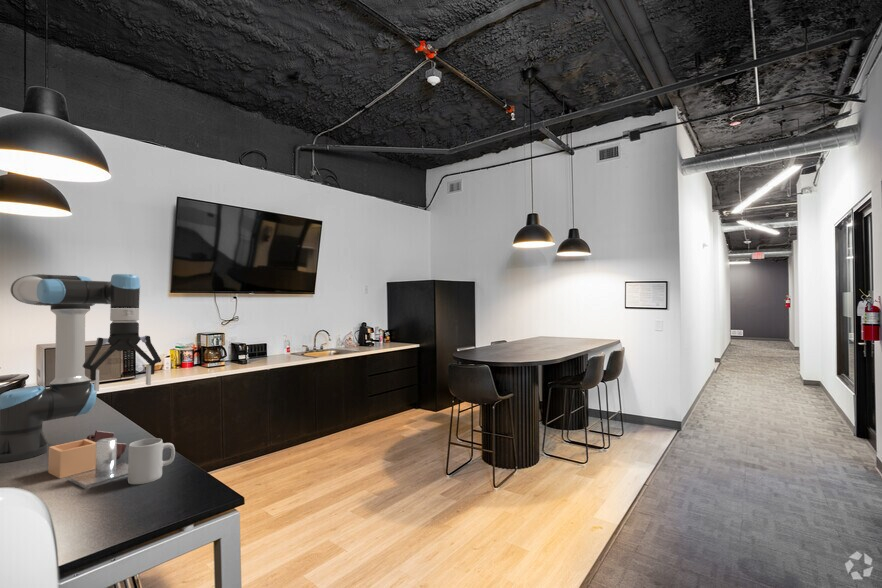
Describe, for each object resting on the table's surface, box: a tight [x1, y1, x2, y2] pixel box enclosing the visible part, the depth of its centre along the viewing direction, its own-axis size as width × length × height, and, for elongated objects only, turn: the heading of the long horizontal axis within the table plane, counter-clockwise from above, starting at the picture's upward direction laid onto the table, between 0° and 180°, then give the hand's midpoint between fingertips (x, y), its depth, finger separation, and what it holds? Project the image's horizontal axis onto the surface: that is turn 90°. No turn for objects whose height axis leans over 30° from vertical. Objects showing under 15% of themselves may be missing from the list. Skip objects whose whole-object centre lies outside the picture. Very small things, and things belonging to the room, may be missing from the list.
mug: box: [127, 437, 176, 485], centre depth 129 cm, size 12×8×11 cm
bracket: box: [86, 430, 127, 460], centre depth 144 cm, size 6×17×10 cm, turn 78°
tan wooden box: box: [47, 438, 96, 479], centre depth 134 cm, size 10×10×8 cm
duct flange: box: [68, 437, 128, 490], centre depth 129 cm, size 12×14×11 cm
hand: (123, 387), depth 136 cm, fingers open, 13 cm apart
